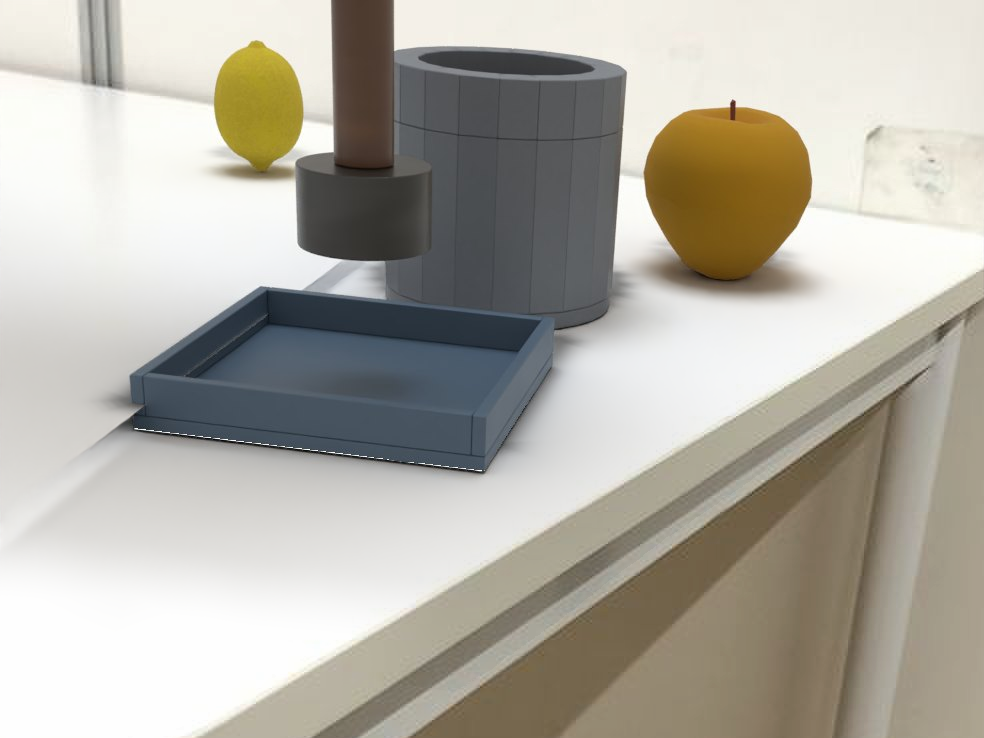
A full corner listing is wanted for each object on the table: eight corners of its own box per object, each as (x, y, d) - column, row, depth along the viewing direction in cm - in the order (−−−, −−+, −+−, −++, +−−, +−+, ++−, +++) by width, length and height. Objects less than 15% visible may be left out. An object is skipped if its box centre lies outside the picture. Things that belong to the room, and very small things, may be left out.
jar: (356, 316, 69) (355, 64, 64) (419, 261, 78) (422, 40, 74) (589, 341, 68) (606, 87, 63) (623, 283, 77) (640, 59, 72)
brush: (344, 267, 53) (336, -211, 47) (272, 238, 56) (255, -213, 50) (457, 252, 56) (466, -199, 50) (383, 225, 60) (382, -201, 53)
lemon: (199, 168, 96) (192, 37, 93) (265, 159, 100) (261, 33, 97) (257, 183, 93) (252, 48, 90) (322, 173, 97) (320, 43, 94)
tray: (133, 430, 54) (128, 374, 53) (261, 332, 66) (259, 285, 65) (484, 473, 53) (486, 416, 52) (552, 365, 64) (555, 317, 63)
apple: (674, 243, 86) (688, 80, 82) (822, 269, 83) (845, 100, 79) (609, 274, 79) (621, 97, 75) (769, 304, 76) (791, 120, 72)
